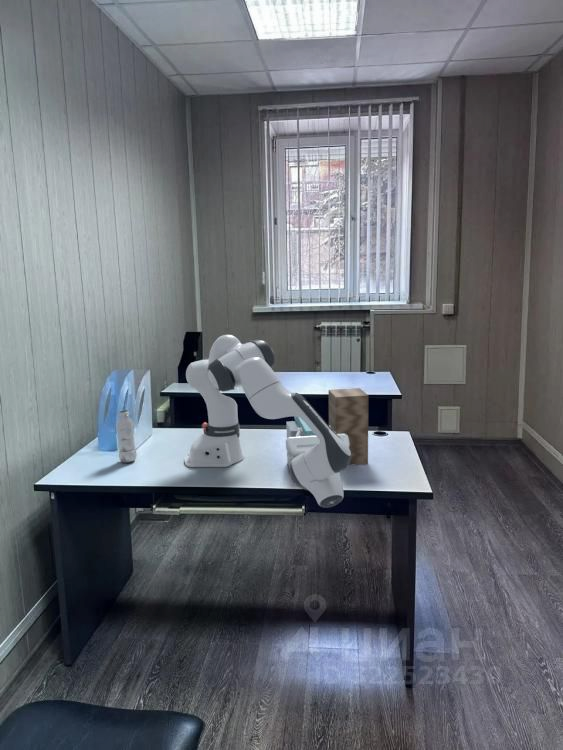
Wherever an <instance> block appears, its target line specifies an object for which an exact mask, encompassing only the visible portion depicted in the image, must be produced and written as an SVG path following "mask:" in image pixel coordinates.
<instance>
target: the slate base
mask: <svg viewBox="0 0 563 750" xmlns="http://www.w3.org/2000/svg"><path fill="white" fill-rule="evenodd" d="M285 424H286V427H285V428H286V439H287V438H288V437H296V434H297V428H299V426H298V424H297V422H296V421H295V420H294V421H293V420H291V421H286V423H285ZM300 436H304V435H303V433H302V435H300ZM286 460H287V461H286V462H287V465H288V467H289V469H290V464H291V461H289V460H288V458H286Z"/></svg>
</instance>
